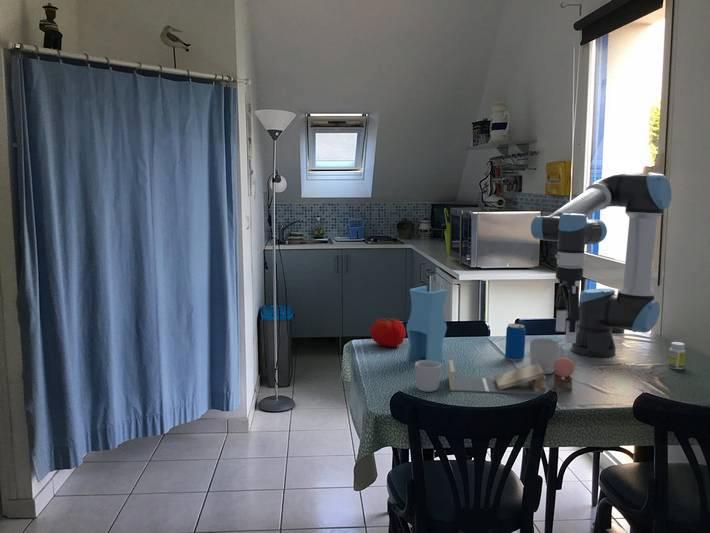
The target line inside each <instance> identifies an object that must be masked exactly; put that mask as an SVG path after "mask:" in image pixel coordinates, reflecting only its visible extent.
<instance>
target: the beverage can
mask: <svg viewBox="0 0 710 533" xmlns="http://www.w3.org/2000/svg"><path fill="white" fill-rule="evenodd" d="M525 327H526V326H525V325H524V324H520V323H509V324H508V325H507V327H506V329H505V330H506V331H505V332H506V334H505V349H504V350H505V353H504V357H505V358H506V359H507V360H509V361H513V362H521V361H522V360H523V359H524V358H525V349H526V348H525V347H526V332H527V330H526V328H525Z"/></svg>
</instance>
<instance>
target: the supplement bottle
mask: <svg viewBox="0 0 710 533" xmlns="http://www.w3.org/2000/svg"><path fill="white" fill-rule="evenodd" d="M685 358H686V350H685V343H683V342H680V341H672V342H671V343H670V348H669V350H668V368H670V369H674V370H683V369H684V368H685V360H686V359H685Z"/></svg>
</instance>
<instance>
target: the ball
mask: <svg viewBox="0 0 710 533" xmlns="http://www.w3.org/2000/svg"><path fill="white" fill-rule="evenodd" d="M553 368H554V374H555V373H556V374H557V375H558V376H561V377H568V376H570V377H571V376H572V375H573V373H574V371H575V363H574V362H573V361H572V359H570V358H569V357H565V356H564V357H561V358H559V357H558V359H557V360H556V361H555V362H554V366H553Z"/></svg>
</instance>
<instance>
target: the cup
mask: <svg viewBox="0 0 710 533" xmlns="http://www.w3.org/2000/svg"><path fill="white" fill-rule="evenodd" d="M441 371H442V362H440V363H439V362H437V361H432V360H426V359H422V360H417V361H415V362H414V374H415V375H414V376H415V384H416V388H417V390H419V391H420V392H425V393H432V392H435V391H437V390H438V389H439V385H440V378H441Z"/></svg>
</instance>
